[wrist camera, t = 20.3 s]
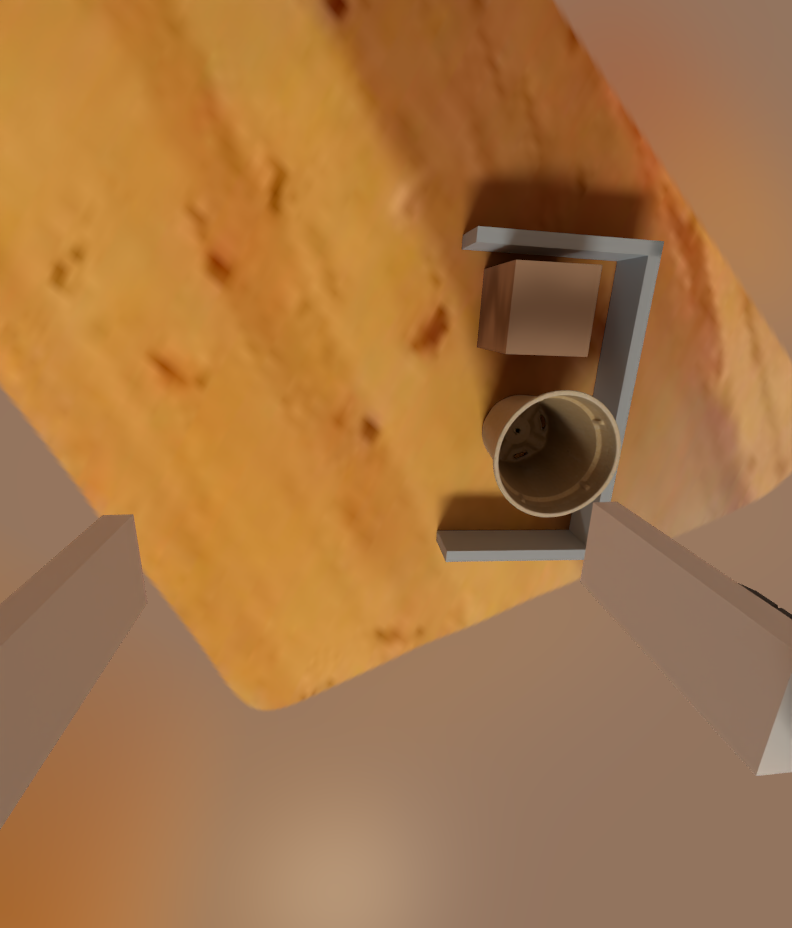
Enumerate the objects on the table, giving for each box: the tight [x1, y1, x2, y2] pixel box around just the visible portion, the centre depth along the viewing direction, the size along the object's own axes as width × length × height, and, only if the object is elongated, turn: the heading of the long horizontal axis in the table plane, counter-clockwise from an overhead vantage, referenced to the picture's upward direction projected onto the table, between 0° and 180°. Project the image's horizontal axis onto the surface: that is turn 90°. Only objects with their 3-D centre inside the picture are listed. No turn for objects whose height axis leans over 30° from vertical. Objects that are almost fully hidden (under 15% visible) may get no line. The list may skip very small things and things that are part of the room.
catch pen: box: [436, 226, 664, 562], centre depth 39 cm, size 26×14×4 cm, turn 177°
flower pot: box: [482, 390, 621, 517], centre depth 37 cm, size 9×9×9 cm
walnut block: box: [477, 260, 602, 357], centre depth 35 cm, size 6×6×7 cm
